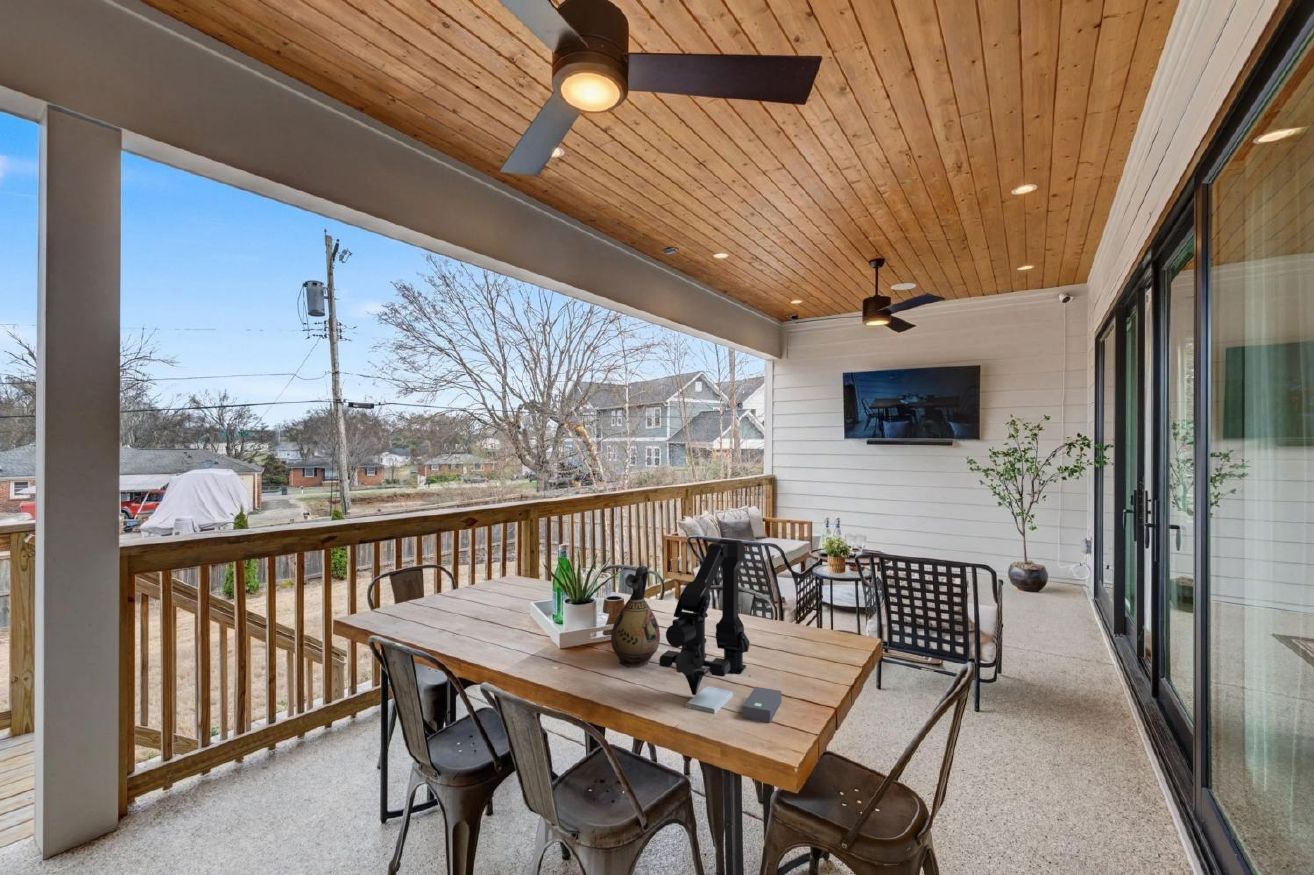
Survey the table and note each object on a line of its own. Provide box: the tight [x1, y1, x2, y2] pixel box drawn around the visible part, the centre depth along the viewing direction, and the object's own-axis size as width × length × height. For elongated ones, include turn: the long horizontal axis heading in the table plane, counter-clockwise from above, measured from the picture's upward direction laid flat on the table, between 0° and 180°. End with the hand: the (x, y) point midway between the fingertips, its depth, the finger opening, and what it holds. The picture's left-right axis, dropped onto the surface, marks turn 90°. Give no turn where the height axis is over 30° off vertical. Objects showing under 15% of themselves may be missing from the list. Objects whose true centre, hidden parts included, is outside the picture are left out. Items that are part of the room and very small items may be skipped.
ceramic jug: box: [610, 565, 661, 668], centre depth 188 cm, size 17×15×30 cm
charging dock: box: [741, 686, 782, 724], centre depth 153 cm, size 13×8×3 cm, turn 156°
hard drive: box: [685, 686, 734, 715], centre depth 158 cm, size 2×8×12 cm
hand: (694, 694), depth 160 cm, fingers closed
